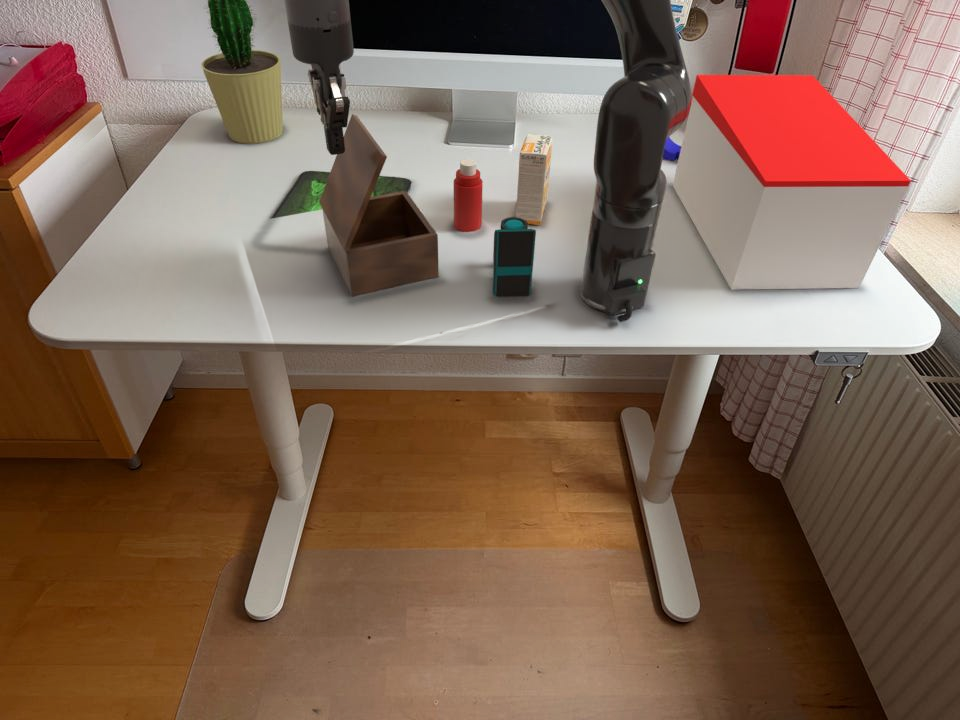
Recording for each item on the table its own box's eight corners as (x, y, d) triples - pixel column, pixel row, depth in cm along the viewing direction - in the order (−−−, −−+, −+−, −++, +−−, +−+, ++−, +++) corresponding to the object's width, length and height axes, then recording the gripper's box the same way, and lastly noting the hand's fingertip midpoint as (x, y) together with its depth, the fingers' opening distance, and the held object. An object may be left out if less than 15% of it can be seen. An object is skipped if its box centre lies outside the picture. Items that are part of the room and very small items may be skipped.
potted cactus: (293, 145, 141) (265, -15, 121) (216, 150, 138) (175, -13, 118) (292, 116, 152) (267, -34, 132) (221, 121, 149) (184, -32, 129)
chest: (408, 235, 114) (405, 190, 109) (439, 281, 104) (437, 234, 99) (328, 251, 110) (321, 205, 105) (352, 301, 100) (346, 253, 95)
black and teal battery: (527, 196, 101) (536, 231, 93) (522, 263, 109) (530, 300, 101) (490, 196, 100) (496, 231, 93) (488, 264, 108) (493, 301, 101)
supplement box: (541, 226, 118) (548, 155, 109) (514, 223, 118) (518, 152, 110) (547, 204, 124) (554, 135, 115) (521, 201, 124) (526, 132, 116)
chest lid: (356, 115, 98) (351, 113, 98) (387, 156, 88) (381, 154, 87) (323, 203, 105) (318, 202, 104) (348, 251, 95) (343, 250, 94)
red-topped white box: (774, 184, 131) (812, 74, 118) (859, 288, 105) (919, 163, 92) (671, 184, 130) (696, 74, 117) (730, 289, 104) (771, 163, 90)
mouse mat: (382, 258, 109) (381, 253, 109) (251, 248, 111) (250, 242, 110) (413, 181, 130) (413, 176, 129) (303, 173, 131) (302, 168, 130)
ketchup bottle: (485, 233, 116) (487, 166, 107) (460, 238, 114) (460, 171, 106) (475, 220, 119) (476, 154, 111) (449, 225, 117) (449, 158, 109)
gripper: (277, 4, 84) (299, 137, 96) (299, 34, 75) (320, 177, 87) (335, -1, 87) (350, 130, 98) (364, 27, 78) (376, 167, 89)
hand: (336, 152), depth 93 cm, fingers closed
